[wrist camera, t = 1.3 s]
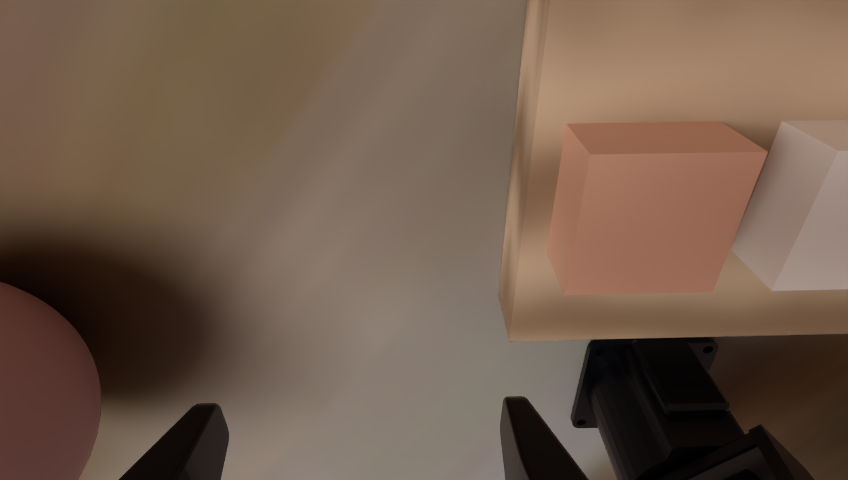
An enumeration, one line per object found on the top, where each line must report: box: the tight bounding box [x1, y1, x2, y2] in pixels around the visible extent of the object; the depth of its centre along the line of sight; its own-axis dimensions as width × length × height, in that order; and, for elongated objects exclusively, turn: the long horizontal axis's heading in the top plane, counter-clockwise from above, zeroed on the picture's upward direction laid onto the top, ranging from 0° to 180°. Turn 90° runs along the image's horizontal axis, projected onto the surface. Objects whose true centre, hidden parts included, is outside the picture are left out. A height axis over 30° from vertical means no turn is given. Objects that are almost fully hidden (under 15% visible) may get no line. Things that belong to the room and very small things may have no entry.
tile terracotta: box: [546, 122, 768, 295], centre depth 16 cm, size 5×5×2 cm
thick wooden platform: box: [499, 0, 848, 341], centre depth 19 cm, size 14×16×3 cm
